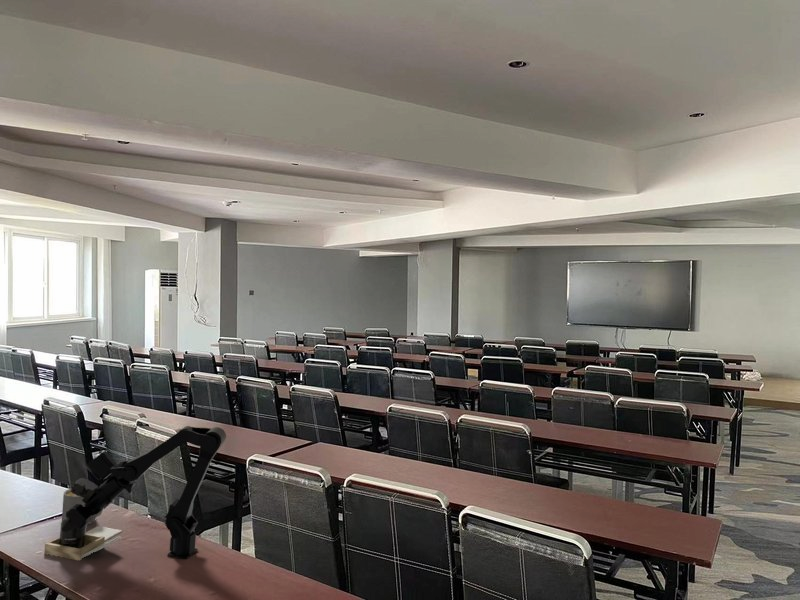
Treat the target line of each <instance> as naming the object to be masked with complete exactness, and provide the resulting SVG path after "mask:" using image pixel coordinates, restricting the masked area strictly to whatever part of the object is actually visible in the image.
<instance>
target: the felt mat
mask: <svg viewBox="0 0 800 600" xmlns="http://www.w3.org/2000/svg"><path fill="white" fill-rule="evenodd" d="M122 532H123V530H121V529H116V528H109V527H106V526H100V525H98V526H96V527H94V528H91V529H90V530H88V531H86V533H87V534H92V535H98V536H103V537H105V541H104V542H107V541H109V539H111V538H114V537H115V536H117V535H118V534H121V533H122Z"/></svg>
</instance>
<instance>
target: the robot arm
mask: <svg viewBox="0 0 800 600" xmlns="http://www.w3.org/2000/svg"><path fill="white" fill-rule="evenodd" d="M226 439H227V433H226V431H225V430H224V429H223V428H221V427H219V426H215V427H211V428H210V427H209V428H208V427H197V426H195V427H194V426H191V425H187V426H184V427H182V428H181V429H180V430H179V431H178V432H175V433H174V434H173V435H172V436H170V437H169V438H166V440H165V441H162V443H160V444H159V445H157V446H156V447H154V448H153V449H151V450H149V451H147V452H143V453H141V454H140V455H137V456H135V457H133V458H131V459H130V460H121V461H119V462H116V460H114V459H113V457H111V455H110V454H109V453H108V451H107V450H104V451H102V452H101V453H100V454H98V455H97V456H96V457H94V458H93V459H91V460H89V462H88V463H87V464H85V466H84V467H85V468H86V469H87V470H88V471H89V472H90V473H91V474H92V475H93V476H94V478H95V479H96V480H98V481H101V480H103V481H104V480H105V479H106V480H105V481H104V482H103V483H101V484H99V485H97V484H96V483H94V482H93V481H91V480H89V479H88V478H87V479H86V478H84V477H80V478H78V479H77V480H75V483H73V485H72V486H70V489H71V492H72V493H73V494H75V495H77V496H81V497H84V499H82V501H83V502H84V503H85V504H84V507H83V506H82V505H81V504H76V505H75V506H74V507H72V508H71V509H70V510H69V511H67V512H66V515H67V516H68V517H69V519H68V521H67V522H66V524H65V525H64V526H63V528H62V529H61V528H60V529H61V530H62V531H63V532H65V531H69V530H72V529H75V528H82V527H83V526H84V525H86V524H87V523H88V522H89V521H90V520H91V516H93V515H95V514H97V513H100V512H101V511H102V512H103V510H105V509H107V507H108V506H110V505H111V504H112V503H113V501H114V500H115V499H116V498H117V497H118V496H119V495H121V494H122V493H123V492H124V491H126V492H127V493H129V494H131V493H133V491H134V490H135V489H136V480H138V479H139V478H140V477H142V476H143V474H145V473H146V472H147V471H148V470H149V469H150V468H152V467H153V465H154V464H155V463H157V462H158V461H159V460H160V459H163V457H165V456H166V455H168V454H169V453H171V452H172V451H174V450H175V449H177V448H178V447H180V446H181V445H182V444H184V443H189V444H191V445H194V446H197V447H199V451H198V453H199V454H198V457H197V460H196V462H195V464H194V467H193V469H192V471H191V473H190V476H189V477H188V481H187V482H186V485H185V487H184V488H183V491H182V492H181V493H182V494H181V495H180V498H177V497H176V498H175V499H174V500H173V501H172V503H171V504H170V505H169V508H168V510H167V511H168V512H167V513H166V515H164V519H165V521H164V526H166V528H167V530H169V533H170V539H169V552H168V553H167V557H172V558H176V559H177V558H179V559H183V560H186V559H187V560H188V558H191V556H193V555H194V554H195V553H197V552H198V548H196V540H197V539H196V538H197V532H195V531H194V530H195V529H196V528H197V525H198V524H199V521H198V520H197V519H196V518H195V517H194V516H193V513H192V512H193V509H194V501H195V498H196V495H197V494H198V492H199V489H200V487H201V486H202V483H203V480H204V478H205V476H206V474H207V472H208V469H209V467H210V465H211V463H212V461H213V459H214V458H215V456H216V454H217V453H218V451H219V450H220V448H221V447H222V446H223V444H224V443H225V441H226ZM110 475H111V476H110ZM109 476H110V477H109ZM108 477H109V478H108ZM107 478H108V479H107ZM196 551H197V552H196Z"/></svg>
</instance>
